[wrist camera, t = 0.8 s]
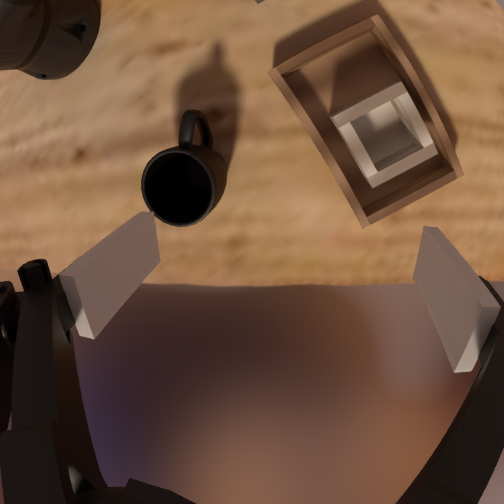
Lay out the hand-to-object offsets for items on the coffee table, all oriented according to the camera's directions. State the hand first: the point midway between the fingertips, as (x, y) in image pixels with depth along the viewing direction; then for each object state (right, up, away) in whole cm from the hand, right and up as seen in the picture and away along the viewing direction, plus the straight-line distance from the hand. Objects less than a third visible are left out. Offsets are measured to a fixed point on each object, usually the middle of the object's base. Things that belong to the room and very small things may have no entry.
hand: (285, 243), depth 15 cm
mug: (-7, +12, +24) cm, 27 cm away
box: (+12, +15, +18) cm, 26 cm away
